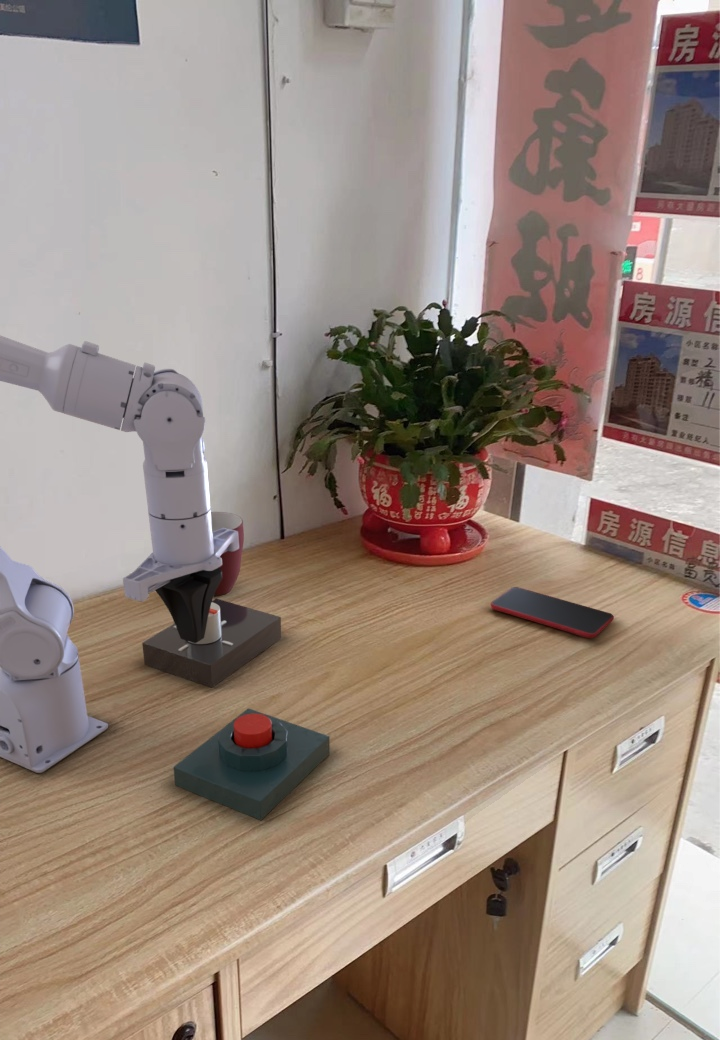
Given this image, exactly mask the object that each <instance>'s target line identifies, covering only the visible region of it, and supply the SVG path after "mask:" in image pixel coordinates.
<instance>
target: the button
mask: <svg viewBox="0 0 720 1040" xmlns="http://www.w3.org/2000/svg"><path fill="white" fill-rule="evenodd" d="M236 718H237V717H236ZM271 740H272V723H271V720H270V719H269V718H268V717H267V716H265V715H262V714H246V715H243V716H241V717H239V718H237V719H236V720H235V722H234V741H235V743H236V744H237V745H238V746H240V747H243V748H260V747H263V746H266V745H268V744H269V743H270V742H271Z"/></svg>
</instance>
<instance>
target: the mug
mask: <svg viewBox="0 0 720 1040" xmlns="http://www.w3.org/2000/svg"><path fill="white" fill-rule="evenodd" d="M211 520H212V532H214V531H216V530H219V529H221V528H226V529H231V530H235V531H238V537H239V549H237V550H236V551H233V552H232V551H226V552H224V553H223V554H222V555H221V556H220V557H221V558H222V565H221V566H220V567H218V568H220V569H221V570H222V580H221V582H220V584H219V585H218V587H217V590H216V592H215V594H214V596H222V595H226V594H229V593H230V592H231V591H232V589H233V587H234V586H235V584H236V582H237V579H238V577H239V575H240V572H241V565H242V557H243V552H244V543H245V542H244V541H245V533H244V531H245V529H244V520H243V518H241V516H239V515H237V514H234V513H232V512H226V511H225V512H224V511H211Z"/></svg>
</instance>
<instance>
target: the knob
mask: <svg viewBox="0 0 720 1040" xmlns="http://www.w3.org/2000/svg"><path fill="white" fill-rule="evenodd" d="M221 636H222V629H221V612H220V607H219V605H217V604H216V603H213V602H212V603H211V606H210V610H209V615H208V620H207V625H206V631H205V636H204V638H203V639H202V640H200V641H199V642H197V643H194V644H208V643H212V642H215V641H217V640H218V639H220V638H221ZM188 642H189V641H188ZM190 643H193V642H190Z"/></svg>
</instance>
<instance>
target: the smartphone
mask: <svg viewBox="0 0 720 1040" xmlns="http://www.w3.org/2000/svg"><path fill="white" fill-rule="evenodd" d="M490 607H491V608H492V609H493V610H494V611H498V612H500V613H504V614H508V615H511V616H514V617H518V618H521V619H524V620H527V621H531V622H533V623H537V624H540V625H544V626H547V627H551V628H554V629H558V630H561V631H564V632H566V633H570V634H573V635H575V636H579V637H582V638H586V639H594V638H596V637H597V636H598V635H599V634H600V633H601V632H602V631H603V630H604V629H606V627H607V626H608V625H610V623H611V622H613V621H614V620H615V616H614V614H612V613H610V612H607V611H604V610H600V609H597V608H593V607H590V606H586V605H582V604H579V603H575V602H572V601H568V600H564V599H562V598H558V597H555V596H550V595H548V594H544V593H541V592H536V591H533V590H529V589H525V588H522V587H519V586H513V587H511V588H509V589H508V590H506V591H505V592H504V593H502V594H501V595H500V596H498V597H497V598H495V599H493V600H492V601H491V602H490Z"/></svg>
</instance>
